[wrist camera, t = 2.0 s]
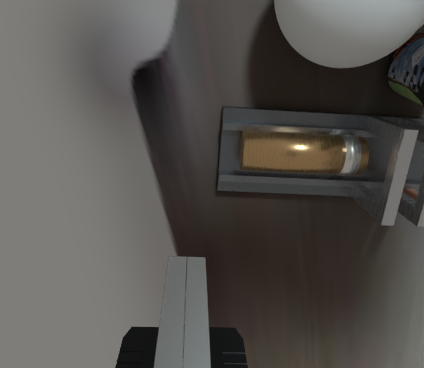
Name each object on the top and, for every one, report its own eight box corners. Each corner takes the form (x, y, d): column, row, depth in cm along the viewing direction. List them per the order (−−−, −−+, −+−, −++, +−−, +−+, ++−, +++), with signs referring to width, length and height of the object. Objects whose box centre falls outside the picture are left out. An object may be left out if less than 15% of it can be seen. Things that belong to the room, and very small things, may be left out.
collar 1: (366, 115, 37) (404, 129, 30) (377, 116, 37) (418, 130, 30) (349, 196, 40) (381, 225, 33) (360, 196, 40) (393, 225, 33)
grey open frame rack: (222, 106, 37) (224, 108, 35) (435, 118, 38) (446, 121, 37) (216, 187, 40) (217, 193, 38) (414, 196, 41) (423, 202, 40)
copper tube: (238, 171, 37) (243, 170, 33) (240, 132, 37) (246, 126, 33) (349, 176, 38) (368, 176, 34) (351, 138, 38) (370, 133, 34)
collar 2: (399, 117, 37) (444, 131, 30) (410, 118, 37) (458, 132, 30) (379, 197, 40) (417, 226, 33) (390, 198, 40) (429, 227, 33)
